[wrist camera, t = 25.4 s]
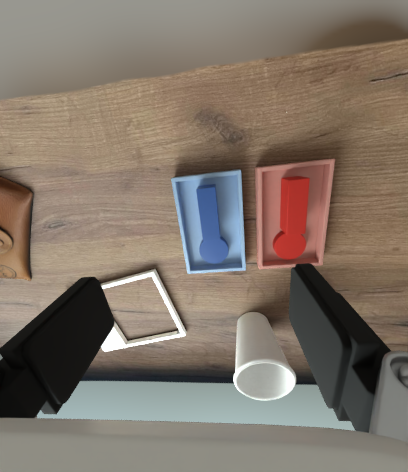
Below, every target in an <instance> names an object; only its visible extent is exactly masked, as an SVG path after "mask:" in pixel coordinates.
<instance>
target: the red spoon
mask: <svg viewBox="0 0 408 472" xmlns="http://www.w3.org/2000/svg"><path fill="white" fill-rule="evenodd" d="M309 181H310V178H307V177H302V176H294V177H285V178H281V202H280V228H281V230H282V231H281V232H279V233H278V234H277V235H276V236H275V238H274V240H273V249H274V251H275V252H276V254H277V255H278V256H279V257H280V258H282V259H287V260H290V259H295V258H297V257H299V256H300V255H301V254H302V253H303V252H304V250H305V248H306V240H305V238H304V236H303V235H302V234H305V232H306V219H307V206H308V194H309Z"/></svg>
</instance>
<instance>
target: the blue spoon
mask: <svg viewBox="0 0 408 472" xmlns="http://www.w3.org/2000/svg"><path fill="white" fill-rule="evenodd" d="M196 193H197V200H198V208H199V215H200V223H201V230H202V238H203V240H202V241H201V243H200V247H199V253H200V256H201V257H202V258H203V260H205V261H206V262H208V263H213V264H216V263H220V262H222V261H223V260H225V259H226V257H227V256H228V252H229V249H228V243H227V241H226V240H225V239H224V238H223V237H222V236H220V224H219V213H218V203H217V192H216V184H211V185H202V186H198V187H197V189H196Z"/></svg>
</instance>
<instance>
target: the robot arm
mask: <svg viewBox="0 0 408 472" xmlns="http://www.w3.org/2000/svg"><path fill="white" fill-rule="evenodd" d="M289 319H290V322H291V325H292V327H293V329H294V331H295V334H296V336H297V338H298V341H299V343H300V345H301V348H302V350H303V352H304V355H305V357H306V359H307V362H308V364H309V366H310V368H311V371H312V373H313V375H314V378H315V380H316V382H317V385H318V387H319V389H320V392H321V394H322V396H323V398H324V401H325V403H326V405H327V406H328V408H333V409H334V412H335V413H336V416H337V418H338V420H339V421H351V422H352V425H353V427H354V428H355V430H356V431H351V430H342V429H333V428H320V427H301V426H282V425H262V424H231V423H201V422H200V423H199V422H168V421H132V420H92V419H91V420H90V419H44V418H43V419H42V418H41V419H40V418H37V414H38V413H39V411H40V410H42V412H43V413H44V414H57V413H58V411H59V410H60V408H61V406H62V405H63V404H64V403H65V402H66V401H67V400H68V399H69V398H70V396H71V394H72V393H73V391H74V390H75V388H76V386H77V385H78V383H79V382H80V380H81V378H82V377H83V375H84V374H85V372H86V370H87V369H88V367H89V366H90V364H91V362H92V361H93V359H94V358H95V356H96V354H97V353H98V351H99V349H100V348H101V346H102V345H103V343H104V341H105V340H106V338H107V337H108V335H109V333H110V332H111V330H112V329H113V327H114V318H113V315H112V313H111V310H110V307H109V305H108V302H107V300H106V297H105V294H104V292H103V289H102V286H101V284H100V281H99V280H97V279H96V278H95V277H83V278H81V279H79V280H78V281H77V282H76V283H75V284H73V285H72V286H71V287H70V288H69V289H68V290H67V291H65V292H64V293H63V294H62V295H61V296H60V297H58V298H57V299H56V300H55V301H54V302H53V303H52V304H50V305H49V306H48V307H47V308H46V309H45V310H44V311H42V312H41V313H40V314H39V315H38V316H37V317H36V318H34V319H33V320H32V321H31V322H30V323H29V324H27V325H26V326H25V327H24V328H23V329H22V330H21V331H19V332H18V333H17V334H16V335H15V336H14V337H13V338H11V339H10V340H9V341H8V342H7V343H6V344H5V345H3V346H2V347H1V348H0V354H1V355H2V357H3V358H2V359H1V360H0V472H408V352H404V351H391V350H390V349H389V348H388V347H387V346H386V345H385V344H384V343H383V341H382V340H381V339H380V338H379V337H378V336H377V335H376V334H375V332H374V331H373V330H372V329H371V328H370V327H369V326H368V325H367V323H366V322H365V321H364V320H363V319H362V318H361V317H360V316H359V314H358V313H357V312H356V311H355V310H354V309H353V308H352V307H351V305H350V304H349V303H348V302H347V301H346V300H345V299H344V298H343V296H342V295H340V294H339V293H337V292H335V290H334V289H333V288H332V287H331V286H330V285H329V284H328V282H327V281H326V280H325V279H324V278H323V277H322V275H321V274H320V273H319V272H318V271H317V270H316V269H315V267H314V266H313V265H312V264H311V263H303V264H296V266H295V267H292V269H291V283H290V301H289Z"/></svg>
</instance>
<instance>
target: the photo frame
mask: <svg viewBox="0 0 408 472" xmlns="http://www.w3.org/2000/svg"><path fill="white" fill-rule="evenodd" d="M150 276H152V278H153V280H154V282H155V284H156V286H157V288H158V290H159V292H160V294H161V296H162V298H163V300H164V301H165V303H166V305H167V307H168V309H169V311H170V313H171V315H172V317H173V319H174V321H175V323H176V325H177V327H178V329H179V331H174V332H169V333H164V334H159V335H154V336H149V337H144V338H140V339H135V340H130V341H127V339H126V338H125V336H124V335H123V333H122V332H121V330H120V328H119V327H118V325H117V324H116V322H115V321H114V327H113V329H112V330H111V332H110V333H109V335H108V337H107V338H106V340H105V341H104V343H103V345H102V346H101V348H102V349H103V350H104V352H105V351H111V350H116V349H121V348H126V347H131V346H136V345H141V344H146V343H151V342H156V341H161V340H166V339H171V338H176V337H182V336H186V330H185V328H184V326H183V324H182V322H181V320H180V318H179V316H178V314H177V312H176V310H175V308H174V306H173V304H172V302H171V300H170V298H169V296H168V294H167V291H166V289H165V287H164V285H163V283H162V281H161V279H160V277H159V275H158V273H157V271H156V269H153V270H149V271H146V272H142V273H138V274H135V275H131V276H127V277H124V278H120V279H116V280H113V281H109V282H106V283H102V284H101V286H102V289H105V288H109V287H112V286H116V285H120V284H124V283H127V282H131V281H135V280H139V279H142V278H146V277H150Z"/></svg>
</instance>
